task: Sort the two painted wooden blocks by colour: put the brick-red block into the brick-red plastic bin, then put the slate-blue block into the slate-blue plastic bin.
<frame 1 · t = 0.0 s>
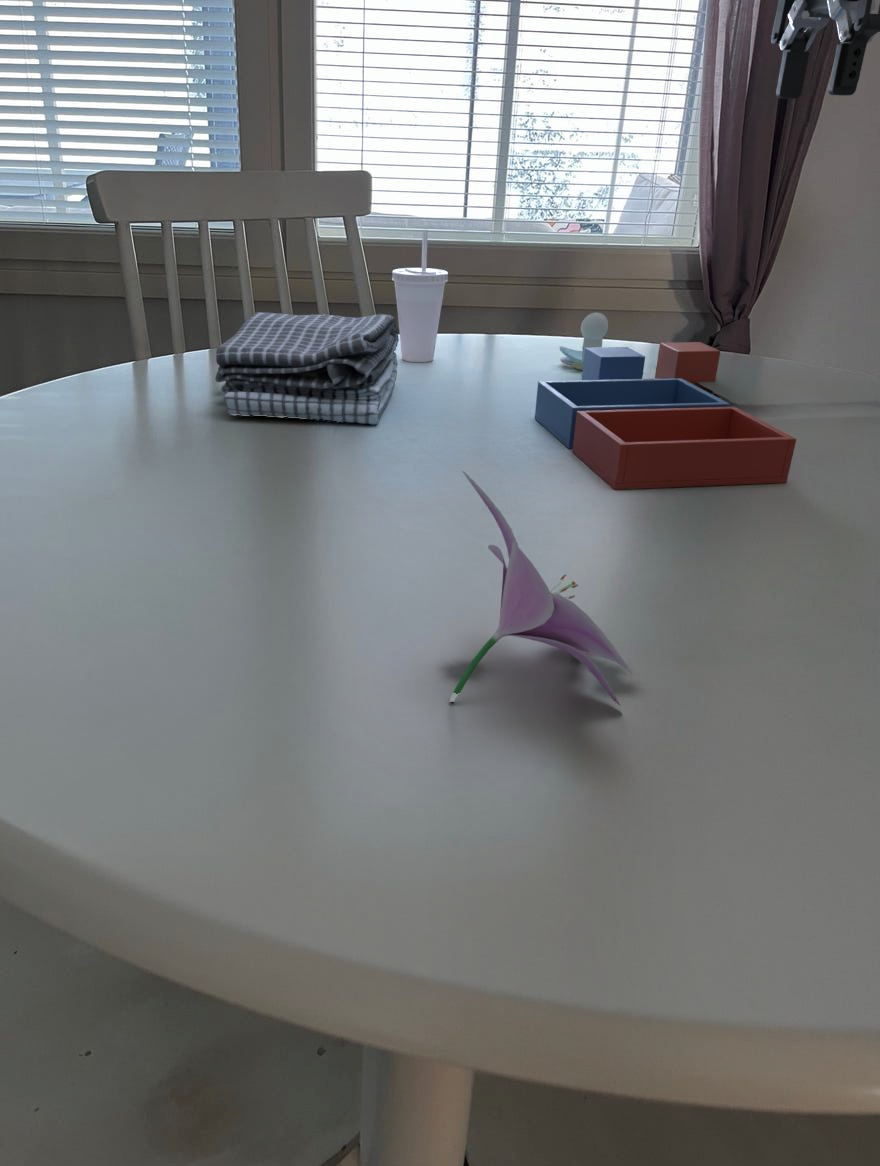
hand: (812, 96, 84), 27 cm above the table, tool pointing down, fingers open, 8 cm apart
smoothie: (417, 360, 110), on the table
red block: (682, 391, 99), on the table
red bin: (675, 466, 76), on the table
blue bin: (625, 430, 85), on the table
lily: (532, 693, 45), on the table
towel: (313, 402, 92), on the table
pacifier: (588, 368, 108), on the table
blue block: (608, 397, 96), on the table
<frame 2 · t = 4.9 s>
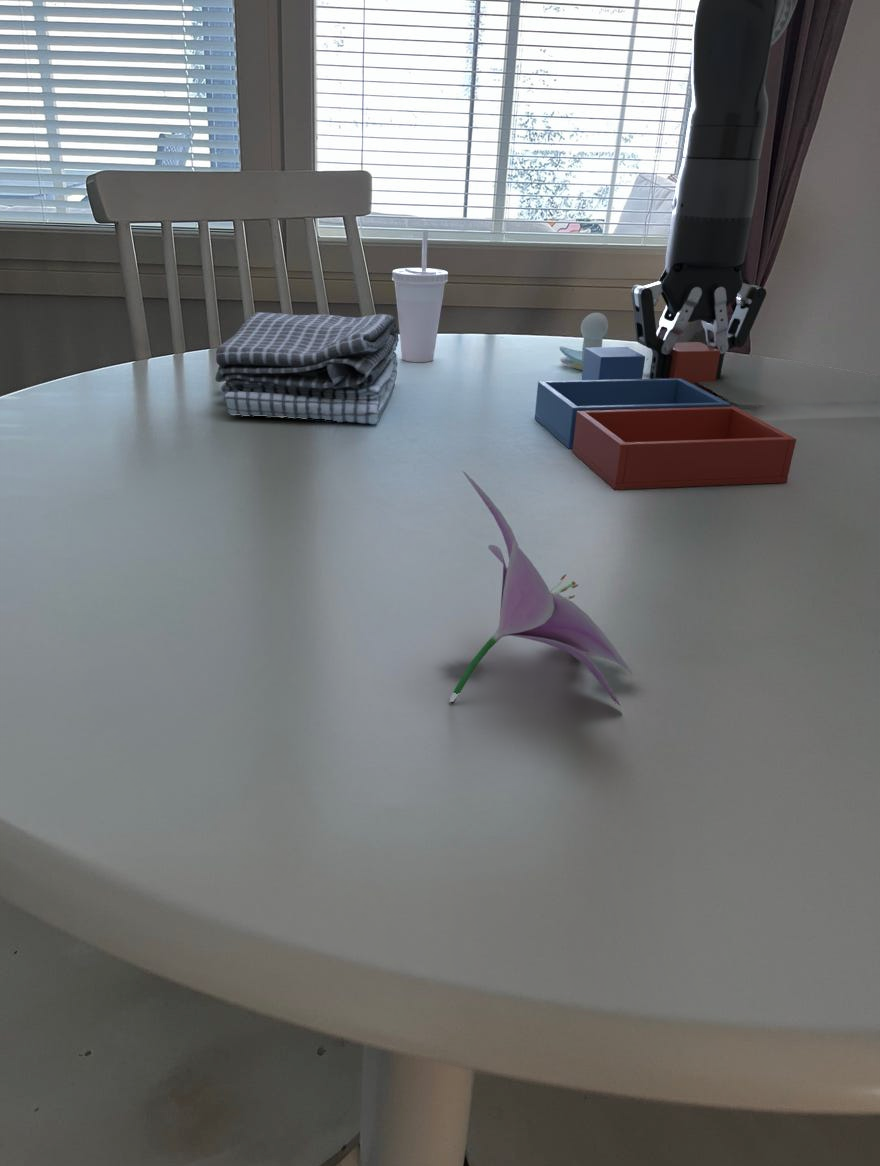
hand: (683, 387, 99), 0 cm above the table, tool pointing down, fingers closed on red block, 4 cm apart
red block: (682, 391, 99), on the table, touching gripper
everything else where it was.
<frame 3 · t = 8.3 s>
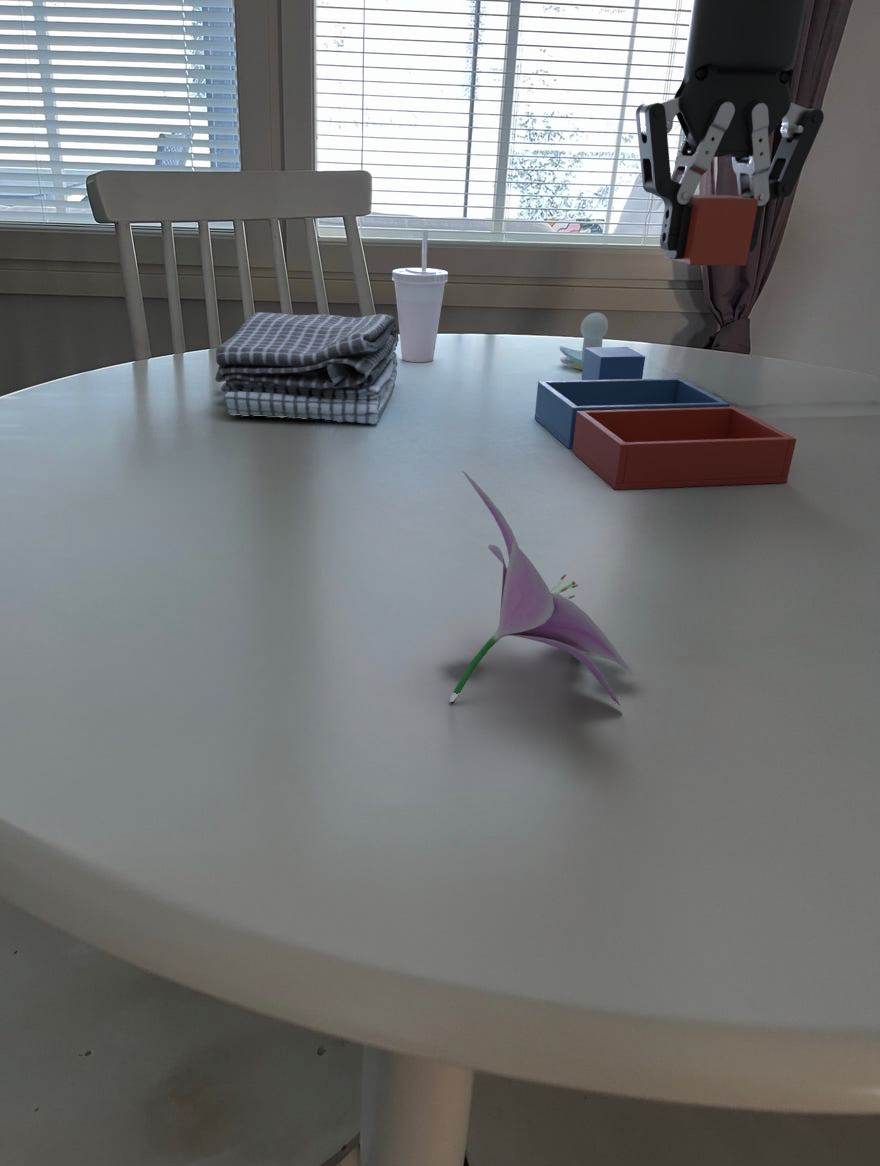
hand: (705, 257, 72), 15 cm above the table, tool pointing down, fingers closed on red block, 4 cm apart
red block: (704, 262, 72), point 15 cm above the table, touching gripper
everything else where it was.
when the fingers open (1 cm above the table, at t = 12.0 s): red block stays where it is, resting on red bin.
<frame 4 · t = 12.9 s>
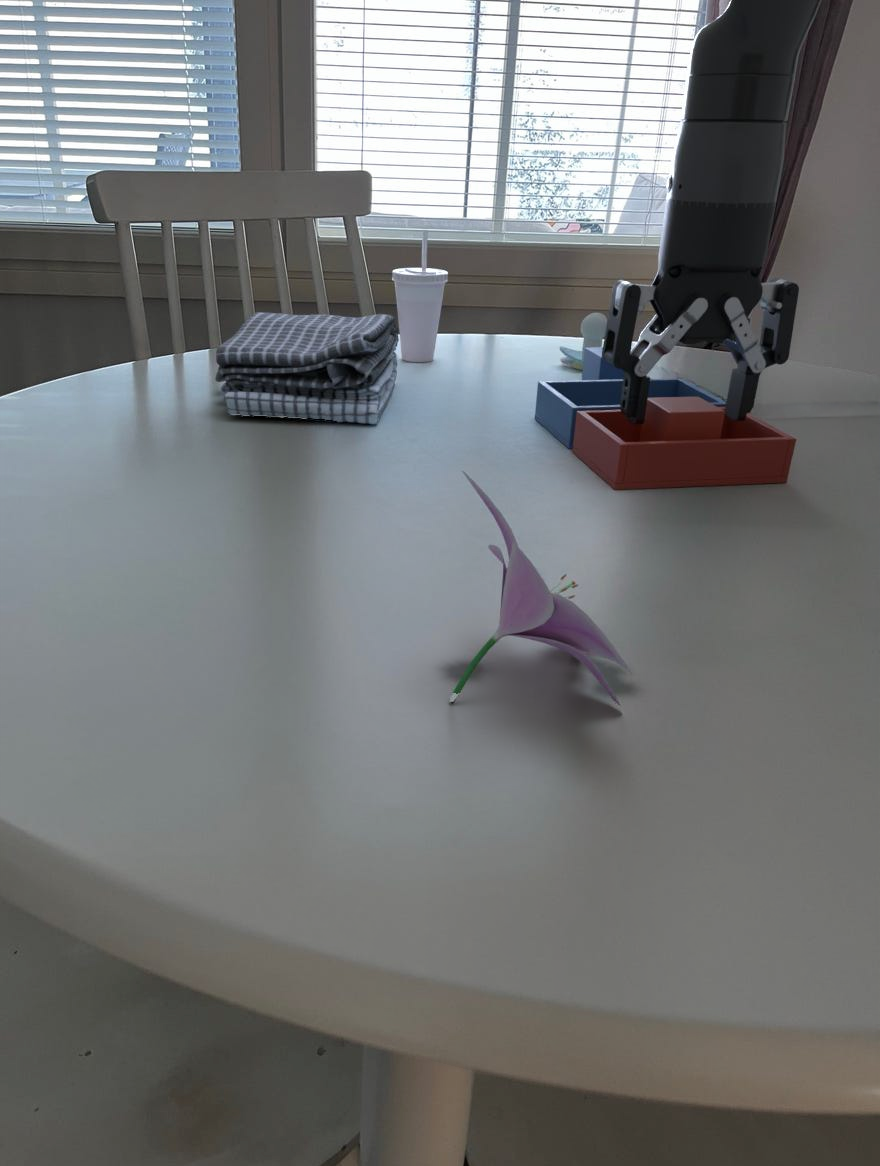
hand: (684, 420, 74), 4 cm above the table, tool pointing down, fingers open, 8 cm apart
red block: (675, 460, 76), resting on red bin
everything else where it was.
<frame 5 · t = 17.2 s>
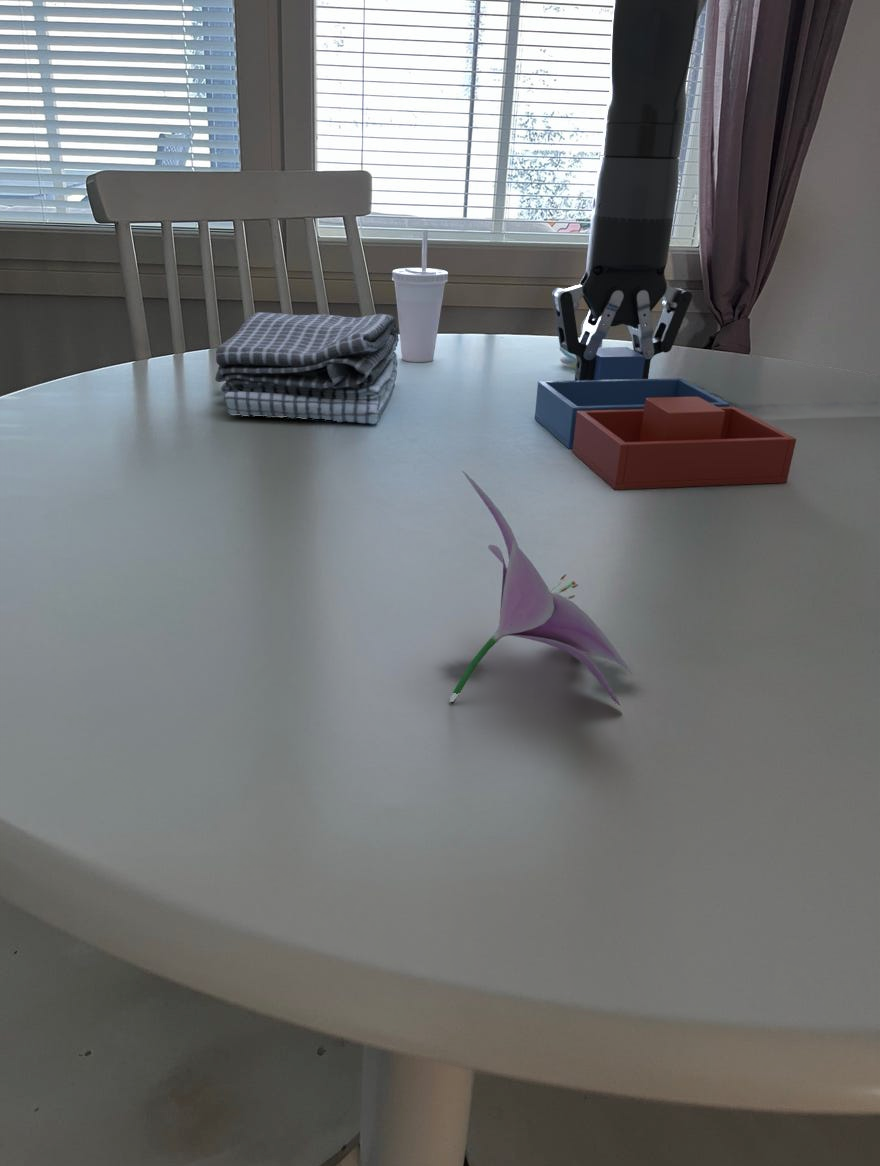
hand: (609, 394, 95), 0 cm above the table, tool pointing down, fingers closed on blue block, 4 cm apart
blue block: (608, 397, 96), on the table, touching gripper
everything else where it was.
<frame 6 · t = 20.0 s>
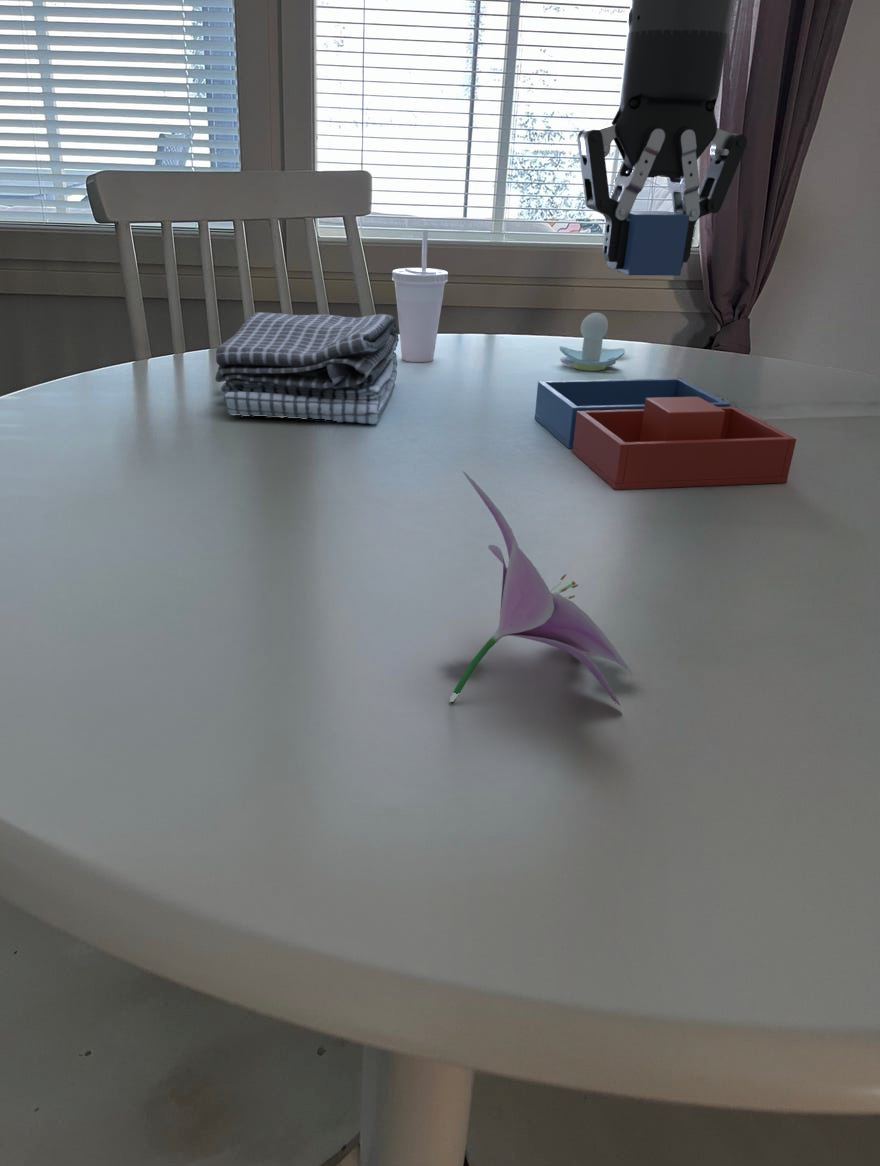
hand: (644, 267, 79), 14 cm above the table, tool pointing down, fingers closed on blue block, 4 cm apart
blue block: (643, 271, 80), point 13 cm above the table, touching gripper
everything else where it was.
when the fingers open (1 cm above the table, at t = 23.1 s): blue block stays where it is, resting on blue bin.
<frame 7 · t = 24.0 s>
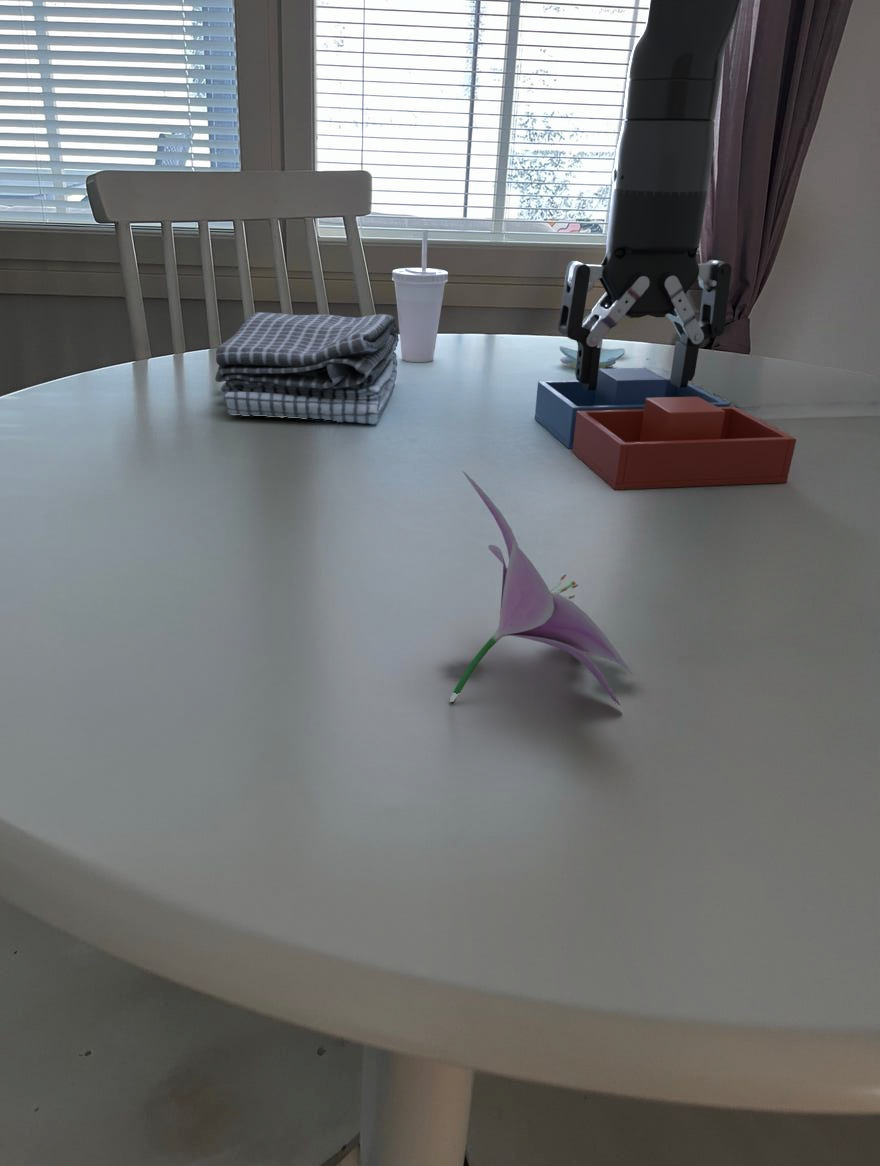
hand: (633, 387, 83), 4 cm above the table, tool pointing down, fingers open, 8 cm apart
blue block: (625, 425, 85), resting on blue bin
everything else where it was.
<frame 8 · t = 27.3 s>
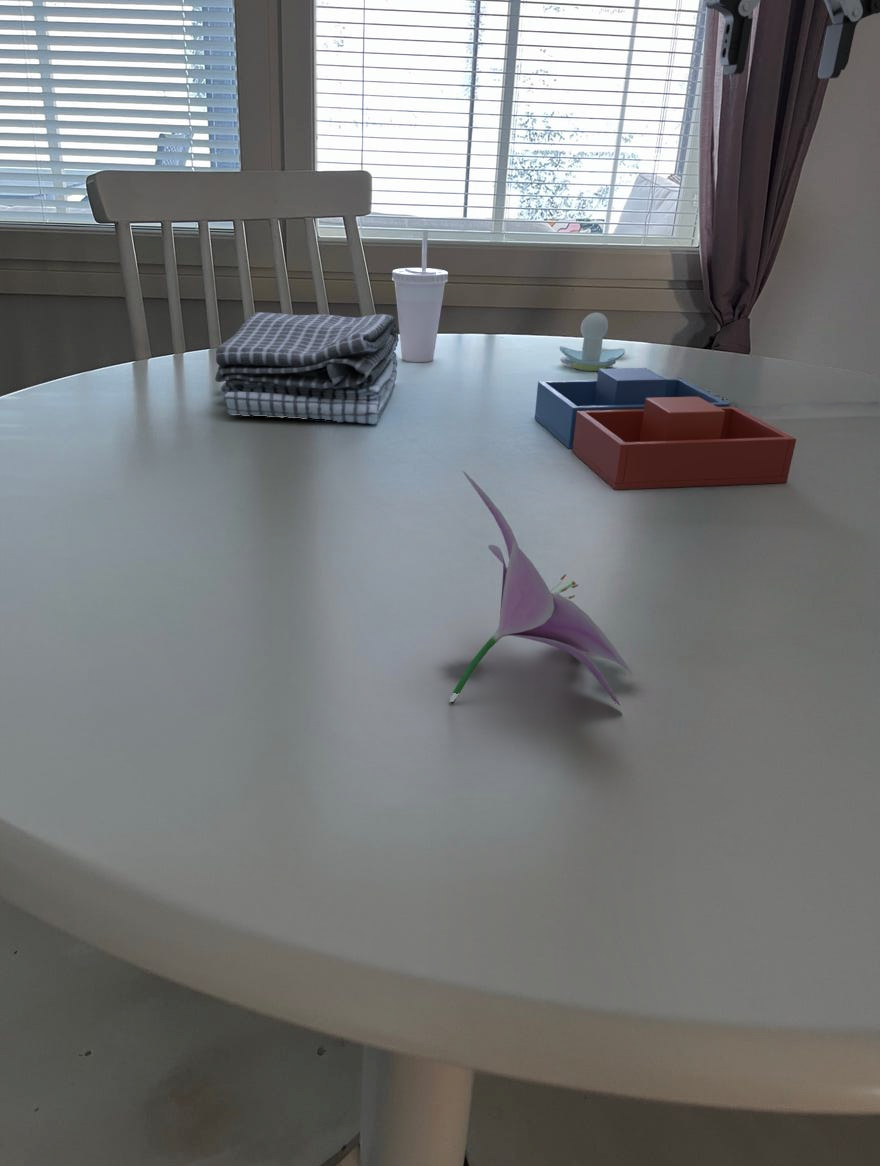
hand: (781, 76, 77), 28 cm above the table, tool pointing down, fingers open, 8 cm apart
nothing on the table moved.
at the end: red block inside the target area in the red bin (0.1 cm from its centre), point 0.5 cm above the red bin's base; blue block inside the target area in the blue bin (0.1 cm from its centre), point 0.5 cm above the blue bin's base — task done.
